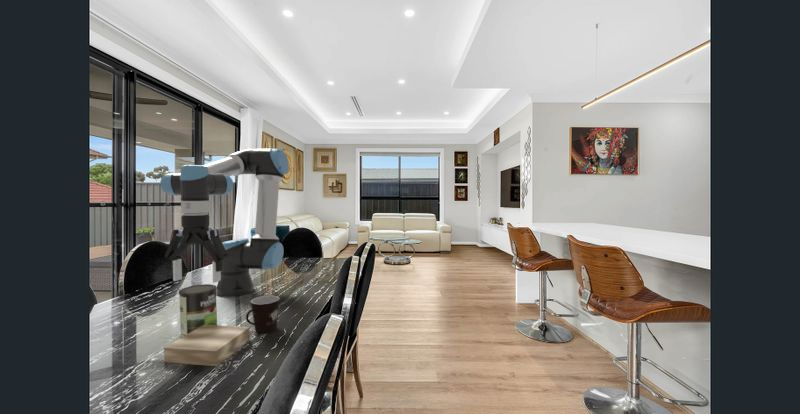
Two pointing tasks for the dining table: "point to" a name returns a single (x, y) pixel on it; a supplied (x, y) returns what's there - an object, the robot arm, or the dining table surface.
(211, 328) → the oak riser
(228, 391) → the dining table surface
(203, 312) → the coffee can
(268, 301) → the coffee mug
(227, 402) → the dining table surface
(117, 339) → the dining table surface
